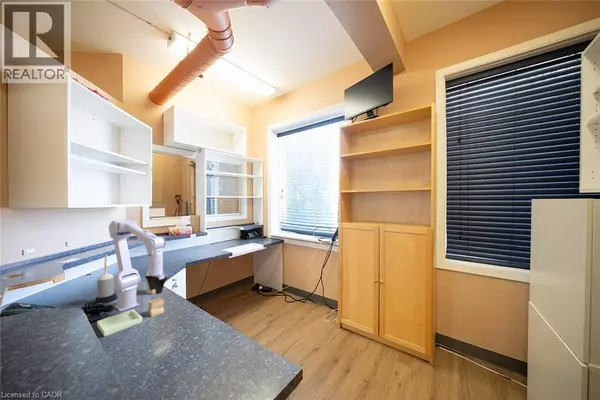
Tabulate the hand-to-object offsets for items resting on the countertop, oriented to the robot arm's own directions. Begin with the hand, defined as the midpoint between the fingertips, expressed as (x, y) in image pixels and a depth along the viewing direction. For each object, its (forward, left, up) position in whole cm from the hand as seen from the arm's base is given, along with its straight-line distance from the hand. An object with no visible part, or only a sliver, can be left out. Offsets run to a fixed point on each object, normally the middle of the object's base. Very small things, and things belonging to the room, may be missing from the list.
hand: (155, 291), depth 102 cm
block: (0, 0, -10) cm, 10 cm away
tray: (-2, -13, -10) cm, 17 cm away
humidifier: (-38, -11, -11) cm, 41 cm away
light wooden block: (-30, +9, -11) cm, 33 cm away
